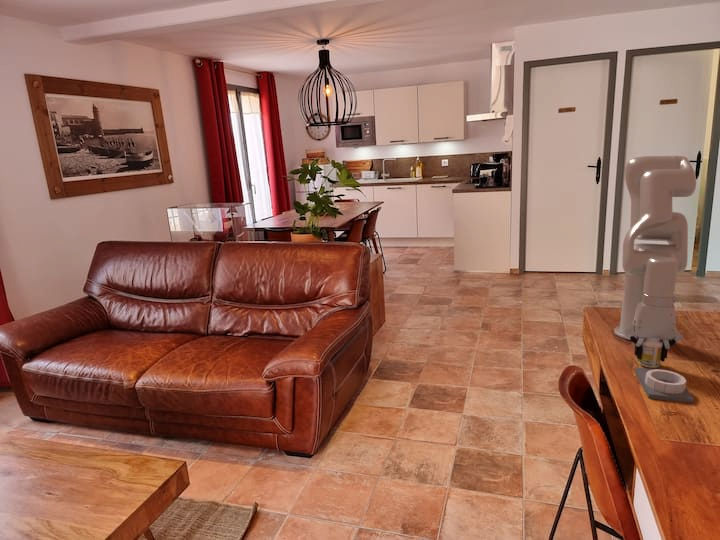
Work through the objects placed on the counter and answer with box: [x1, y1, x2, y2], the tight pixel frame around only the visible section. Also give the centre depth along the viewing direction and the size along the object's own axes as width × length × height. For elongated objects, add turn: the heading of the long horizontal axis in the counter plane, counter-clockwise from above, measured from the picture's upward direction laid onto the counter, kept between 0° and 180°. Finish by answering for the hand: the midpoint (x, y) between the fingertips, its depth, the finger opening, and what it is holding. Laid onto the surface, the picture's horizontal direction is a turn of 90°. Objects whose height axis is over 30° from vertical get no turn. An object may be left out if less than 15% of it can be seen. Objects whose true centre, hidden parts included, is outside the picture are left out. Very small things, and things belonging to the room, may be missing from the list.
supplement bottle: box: [638, 338, 663, 369], centre depth 142 cm, size 5×5×10 cm
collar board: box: [634, 367, 695, 404], centre depth 130 cm, size 16×10×4 cm, turn 162°
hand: (649, 358), depth 143 cm, fingers closed on supplement bottle, 5 cm apart
